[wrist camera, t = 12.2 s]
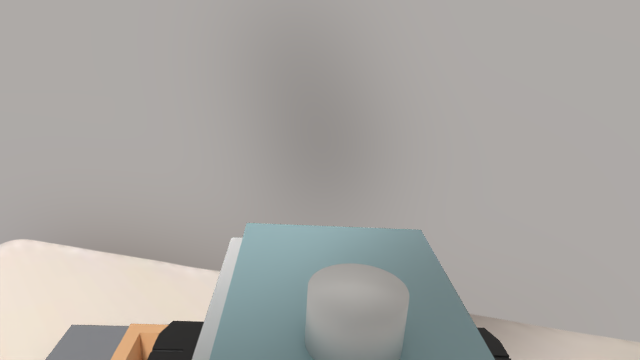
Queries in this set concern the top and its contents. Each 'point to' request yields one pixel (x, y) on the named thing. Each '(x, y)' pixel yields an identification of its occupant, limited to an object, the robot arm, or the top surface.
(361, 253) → the block
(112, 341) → the plate
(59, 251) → the top surface
